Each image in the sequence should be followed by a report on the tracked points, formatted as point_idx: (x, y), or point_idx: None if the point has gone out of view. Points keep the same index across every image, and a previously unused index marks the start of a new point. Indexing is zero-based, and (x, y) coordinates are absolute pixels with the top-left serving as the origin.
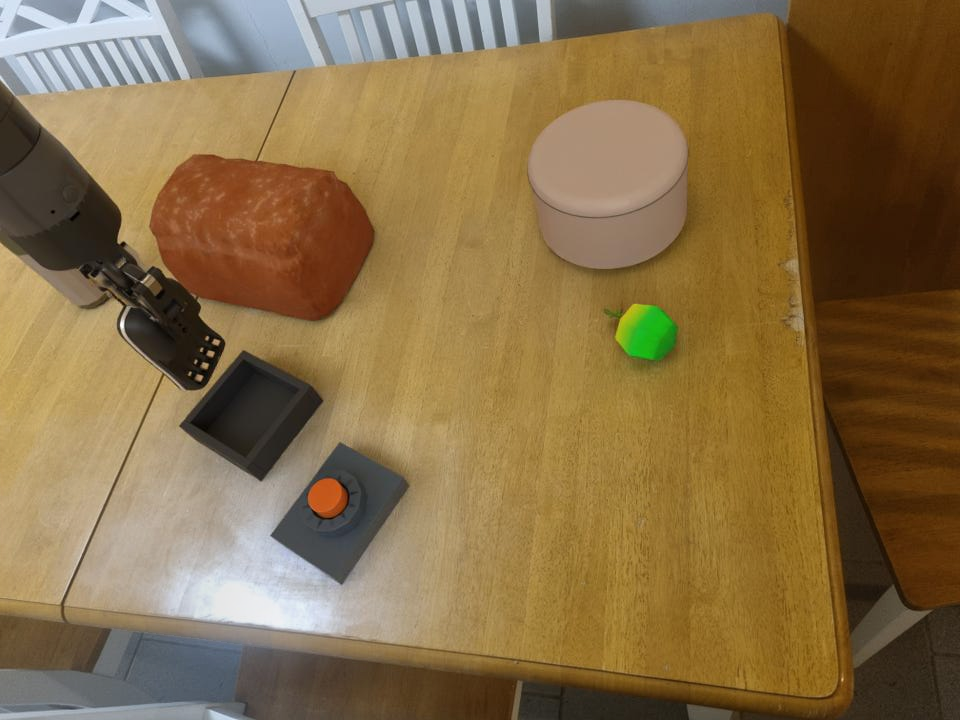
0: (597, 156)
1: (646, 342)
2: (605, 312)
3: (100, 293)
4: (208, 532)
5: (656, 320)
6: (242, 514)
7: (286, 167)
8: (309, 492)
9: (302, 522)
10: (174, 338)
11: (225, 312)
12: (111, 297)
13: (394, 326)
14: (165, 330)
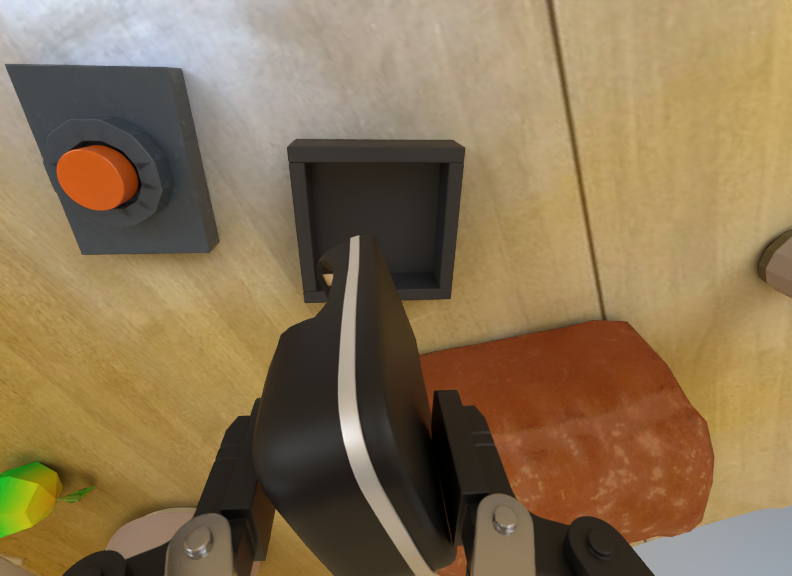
0: None
1: None
2: (78, 497)
3: (775, 261)
4: (306, 12)
5: None
6: (278, 75)
7: None
8: (116, 171)
9: (140, 118)
10: (250, 418)
11: (545, 316)
12: (494, 513)
13: None
14: (246, 454)
